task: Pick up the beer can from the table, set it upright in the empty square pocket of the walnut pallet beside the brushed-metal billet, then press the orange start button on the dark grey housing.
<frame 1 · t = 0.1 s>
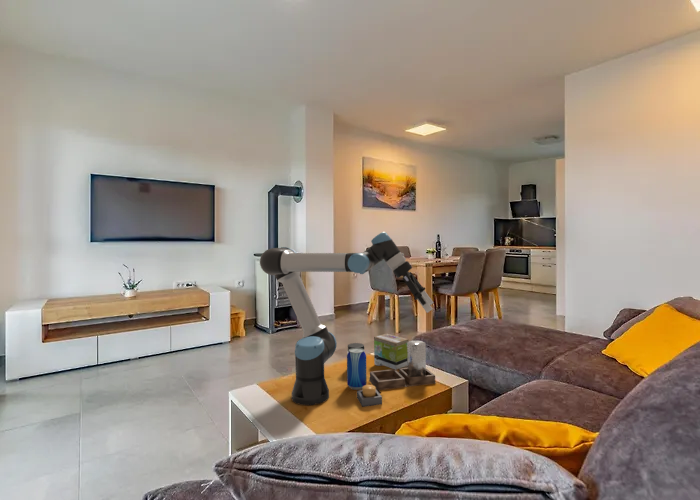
hand: (430, 307, 146), 36 cm above the table, tool tilted 35°, fingers open, 13 cm apart
tea box: (391, 366, 180), on the table
jar: (356, 369, 177), on the table
start button: (369, 391, 142), point 4 cm above the table, slide at 0.0 cm
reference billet: (416, 378, 160), resting on pallet
beer can: (356, 387, 156), on the table
pallet: (402, 383, 159), on the table
button housing: (369, 401, 142), on the table
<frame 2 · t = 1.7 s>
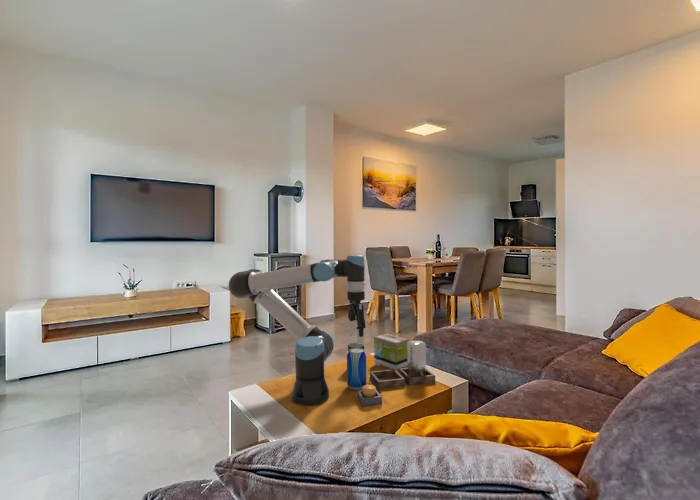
hand: (356, 339, 155), 21 cm above the table, tool pointing down, fingers open, 13 cm apart
nothing on the table moved.
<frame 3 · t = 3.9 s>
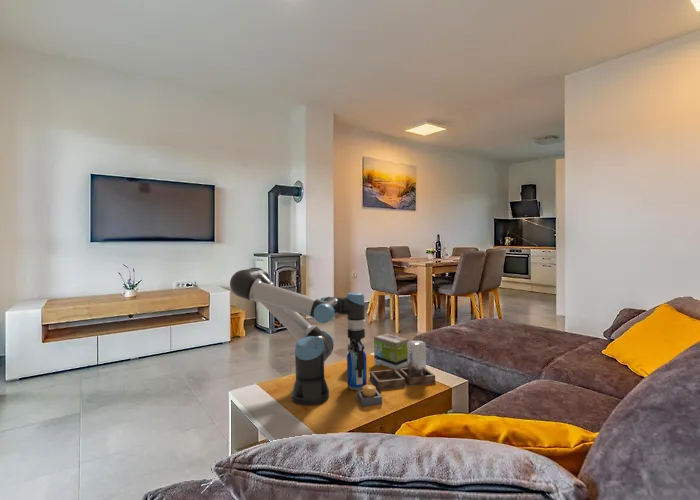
hand: (356, 380, 156), 3 cm above the table, tool pointing down, fingers closed on beer can, 8 cm apart
beer can: (357, 387, 156), on the table, touching gripper
everything else where it was.
when the fingers open (6 cm above the table, at t = 9.0 s): beer can drops 1 cm, resting on pallet.
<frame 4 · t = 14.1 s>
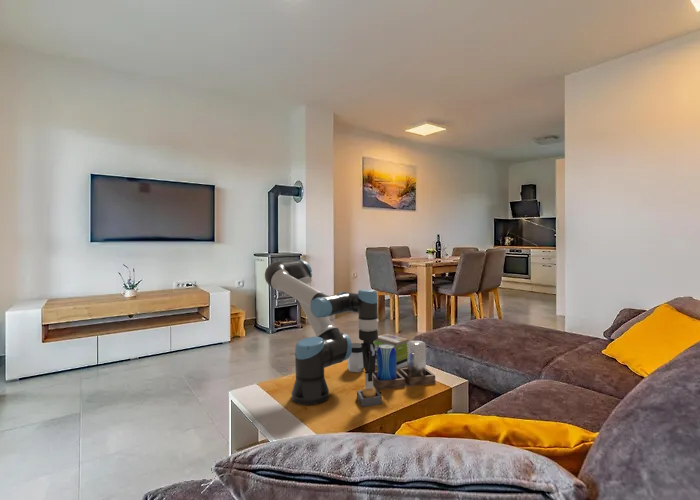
hand: (369, 388, 142), 5 cm above the table, tool pointing down, fingers closed
start button: (369, 392, 142), point 3 cm above the table, slide at 0.5 cm, touching gripper
beer can: (386, 382, 156), point 1 cm above the table, touching pallet
everything else where it was.
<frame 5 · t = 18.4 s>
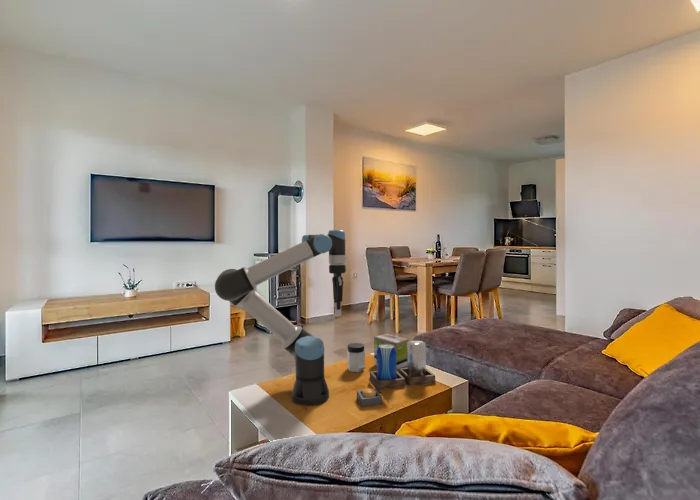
hand: (338, 316, 163), 29 cm above the table, tool pointing down, fingers closed
start button: (369, 395, 142), point 2 cm above the table, slide at 1.5 cm
everything else where it was.
at the end: beer can 0.4 cm from the target spot on the pallet, point 1.3 cm above the pallet's base; beer can tilted 0°; start button slide at 1.5 cm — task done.
